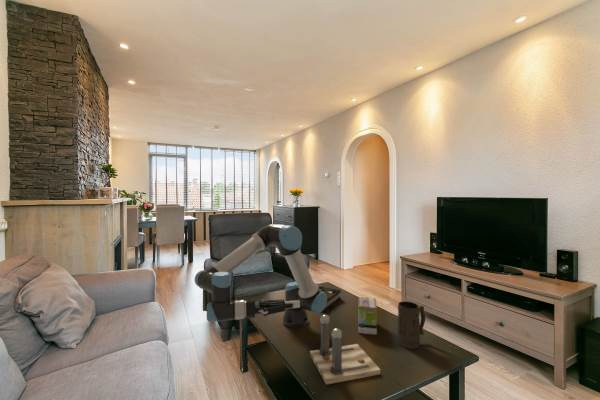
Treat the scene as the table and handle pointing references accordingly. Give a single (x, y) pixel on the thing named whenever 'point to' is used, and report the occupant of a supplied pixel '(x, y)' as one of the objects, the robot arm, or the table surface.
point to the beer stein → (410, 324)
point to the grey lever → (324, 335)
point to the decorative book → (330, 296)
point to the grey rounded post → (336, 351)
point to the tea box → (367, 316)
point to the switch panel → (345, 364)
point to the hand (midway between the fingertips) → (299, 303)
